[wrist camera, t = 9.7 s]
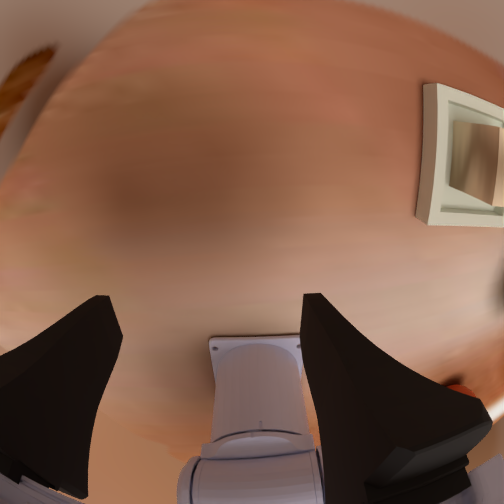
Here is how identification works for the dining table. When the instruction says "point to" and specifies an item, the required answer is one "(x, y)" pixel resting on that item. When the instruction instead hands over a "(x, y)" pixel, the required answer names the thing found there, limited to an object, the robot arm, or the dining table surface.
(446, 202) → the tray
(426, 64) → the dining table surface
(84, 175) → the dining table surface
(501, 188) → the maple block
